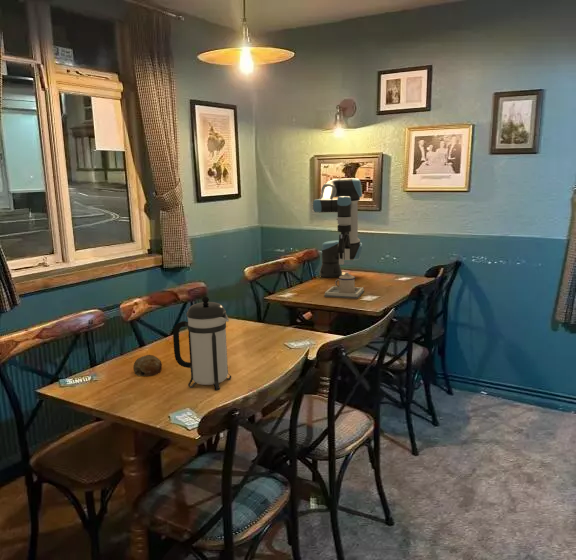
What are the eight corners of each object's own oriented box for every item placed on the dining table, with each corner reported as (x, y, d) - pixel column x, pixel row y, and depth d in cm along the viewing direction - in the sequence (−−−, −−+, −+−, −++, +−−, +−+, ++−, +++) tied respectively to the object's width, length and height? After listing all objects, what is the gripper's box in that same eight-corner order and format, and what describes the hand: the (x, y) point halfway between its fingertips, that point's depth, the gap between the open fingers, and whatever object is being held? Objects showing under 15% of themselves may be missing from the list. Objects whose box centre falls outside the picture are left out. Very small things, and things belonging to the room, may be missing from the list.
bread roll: (132, 383, 189) (125, 368, 184) (142, 363, 197) (136, 347, 192) (158, 385, 187) (152, 369, 182) (167, 364, 195) (162, 348, 190)
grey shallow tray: (332, 290, 313) (332, 286, 312) (364, 291, 306) (364, 287, 306) (324, 296, 297) (324, 292, 296) (357, 298, 290) (357, 294, 290)
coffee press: (224, 371, 189) (220, 288, 183) (238, 386, 174) (234, 298, 168) (175, 379, 182) (169, 294, 176) (186, 396, 168) (179, 304, 162)
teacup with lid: (357, 291, 302) (357, 271, 300) (350, 295, 295) (350, 274, 292) (339, 289, 309) (339, 270, 306) (331, 292, 301) (331, 272, 299)
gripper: (343, 222, 306) (343, 258, 311) (331, 227, 283) (332, 265, 288) (355, 222, 304) (355, 258, 308) (345, 227, 281) (345, 266, 285)
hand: (344, 262), depth 298 cm, fingers open, 13 cm apart
